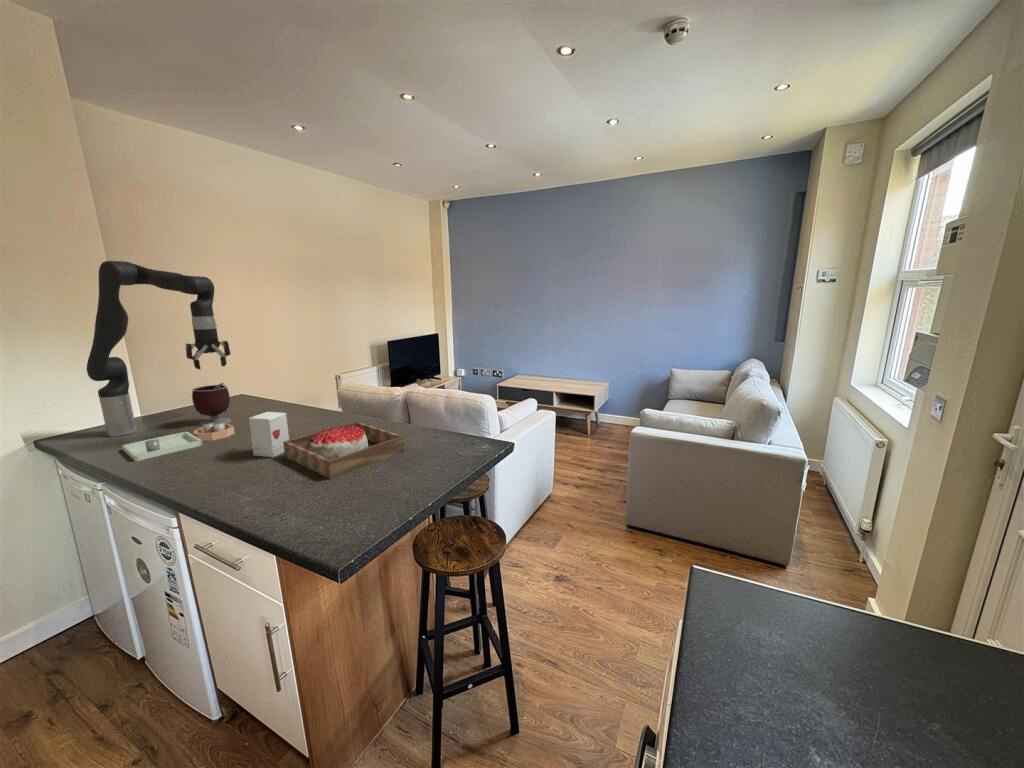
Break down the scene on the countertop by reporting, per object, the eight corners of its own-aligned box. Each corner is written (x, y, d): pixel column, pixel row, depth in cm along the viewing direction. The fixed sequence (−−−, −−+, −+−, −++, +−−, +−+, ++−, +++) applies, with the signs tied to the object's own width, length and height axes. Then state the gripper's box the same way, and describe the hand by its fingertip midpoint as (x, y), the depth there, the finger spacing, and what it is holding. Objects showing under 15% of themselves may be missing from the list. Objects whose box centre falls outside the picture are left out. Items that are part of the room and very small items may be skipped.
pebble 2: (203, 435, 169) (201, 424, 168) (213, 433, 172) (211, 422, 171) (206, 437, 167) (204, 426, 165) (217, 435, 170) (215, 423, 168)
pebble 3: (213, 435, 169) (211, 424, 168) (223, 433, 172) (221, 422, 171) (217, 437, 166) (215, 426, 165) (227, 435, 170) (225, 423, 169)
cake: (353, 438, 169) (351, 416, 167) (377, 455, 151) (376, 430, 149) (293, 452, 154) (290, 427, 152) (312, 472, 136) (309, 445, 134)
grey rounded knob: (146, 454, 149) (143, 441, 148) (159, 451, 152) (157, 438, 151) (149, 456, 147) (146, 443, 145) (162, 453, 150) (160, 440, 148)
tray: (123, 452, 153) (122, 445, 152) (188, 438, 169) (186, 431, 168) (135, 463, 143) (134, 456, 142) (203, 447, 158) (202, 440, 158)
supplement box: (273, 458, 148) (268, 419, 145) (252, 456, 150) (247, 417, 147) (291, 449, 157) (286, 412, 154) (271, 447, 159) (266, 411, 156)
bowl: (191, 438, 168) (189, 429, 167) (226, 430, 178) (225, 422, 177) (202, 445, 161) (200, 435, 160) (238, 436, 171) (236, 427, 170)
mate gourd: (189, 426, 185) (182, 383, 180) (218, 417, 198) (212, 377, 193) (214, 429, 180) (207, 386, 176) (242, 420, 193) (236, 379, 189)
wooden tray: (285, 456, 149) (283, 441, 148) (357, 434, 173) (356, 421, 172) (330, 479, 131) (328, 461, 130) (404, 451, 155) (404, 436, 154)
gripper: (221, 326, 168) (227, 364, 171) (179, 328, 157) (186, 369, 160) (228, 327, 163) (234, 366, 167) (186, 329, 152) (193, 371, 156)
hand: (211, 367), depth 163 cm, fingers open, 8 cm apart
